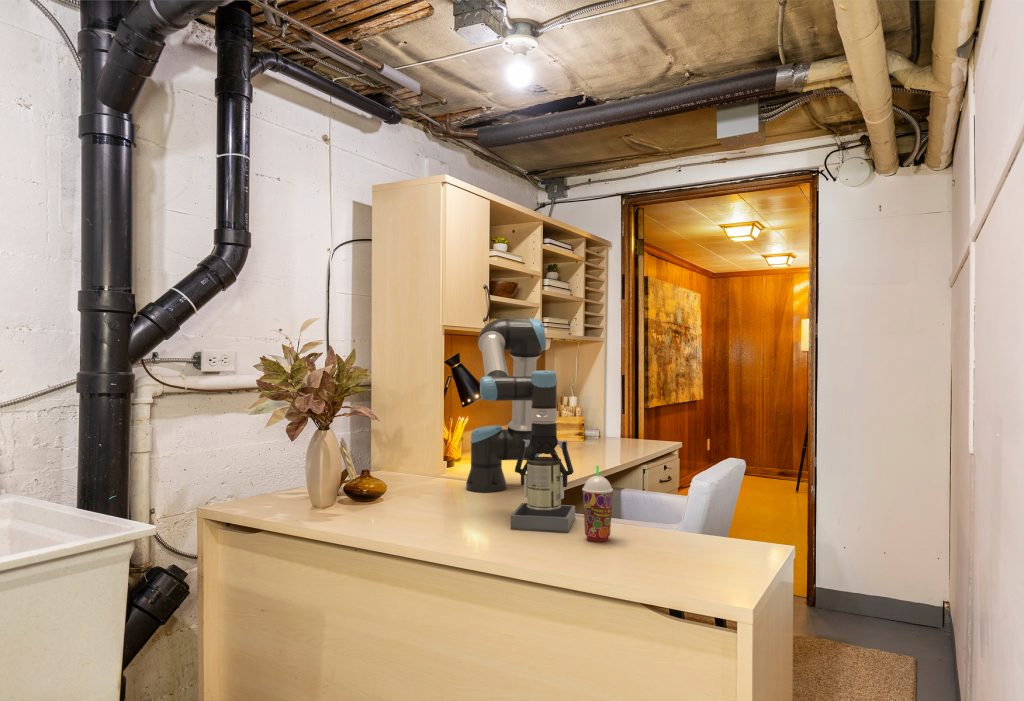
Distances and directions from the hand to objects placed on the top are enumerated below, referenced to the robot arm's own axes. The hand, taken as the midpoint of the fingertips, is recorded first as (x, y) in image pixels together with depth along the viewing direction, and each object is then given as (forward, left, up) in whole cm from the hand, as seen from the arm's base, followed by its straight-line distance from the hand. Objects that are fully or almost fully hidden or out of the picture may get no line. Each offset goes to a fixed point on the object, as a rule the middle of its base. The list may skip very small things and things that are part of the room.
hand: (544, 497), depth 195 cm
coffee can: (0, 0, -3) cm, 3 cm away
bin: (0, 0, -8) cm, 8 cm away
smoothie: (+13, +17, -8) cm, 23 cm away
